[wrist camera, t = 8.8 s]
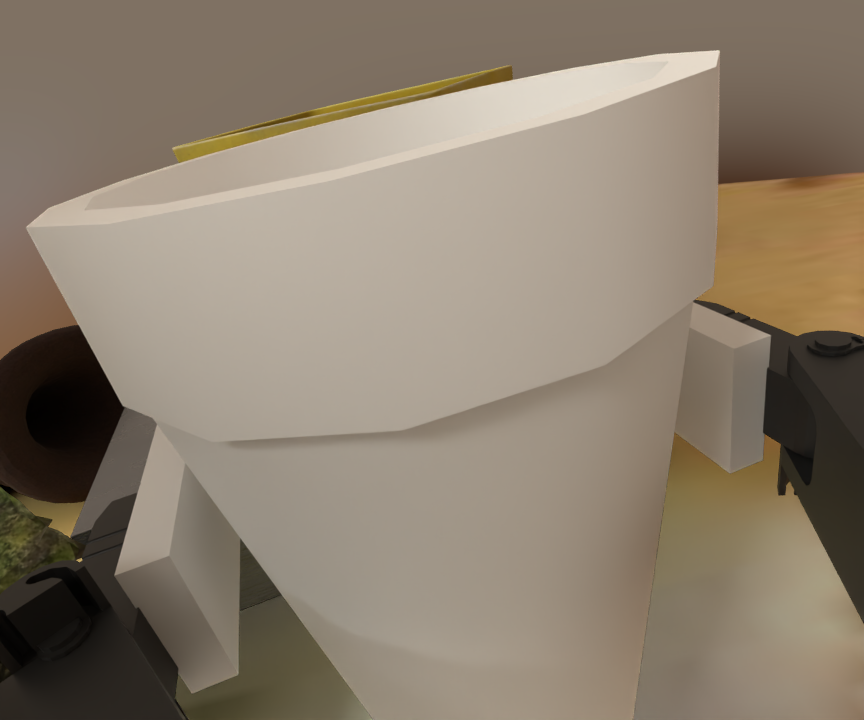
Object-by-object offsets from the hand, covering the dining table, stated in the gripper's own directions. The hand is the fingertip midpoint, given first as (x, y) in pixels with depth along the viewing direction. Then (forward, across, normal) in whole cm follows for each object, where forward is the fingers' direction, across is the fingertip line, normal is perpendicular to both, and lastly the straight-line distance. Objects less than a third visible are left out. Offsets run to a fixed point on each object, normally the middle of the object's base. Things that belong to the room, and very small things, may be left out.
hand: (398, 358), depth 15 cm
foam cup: (-4, 0, -7) cm, 8 cm away
